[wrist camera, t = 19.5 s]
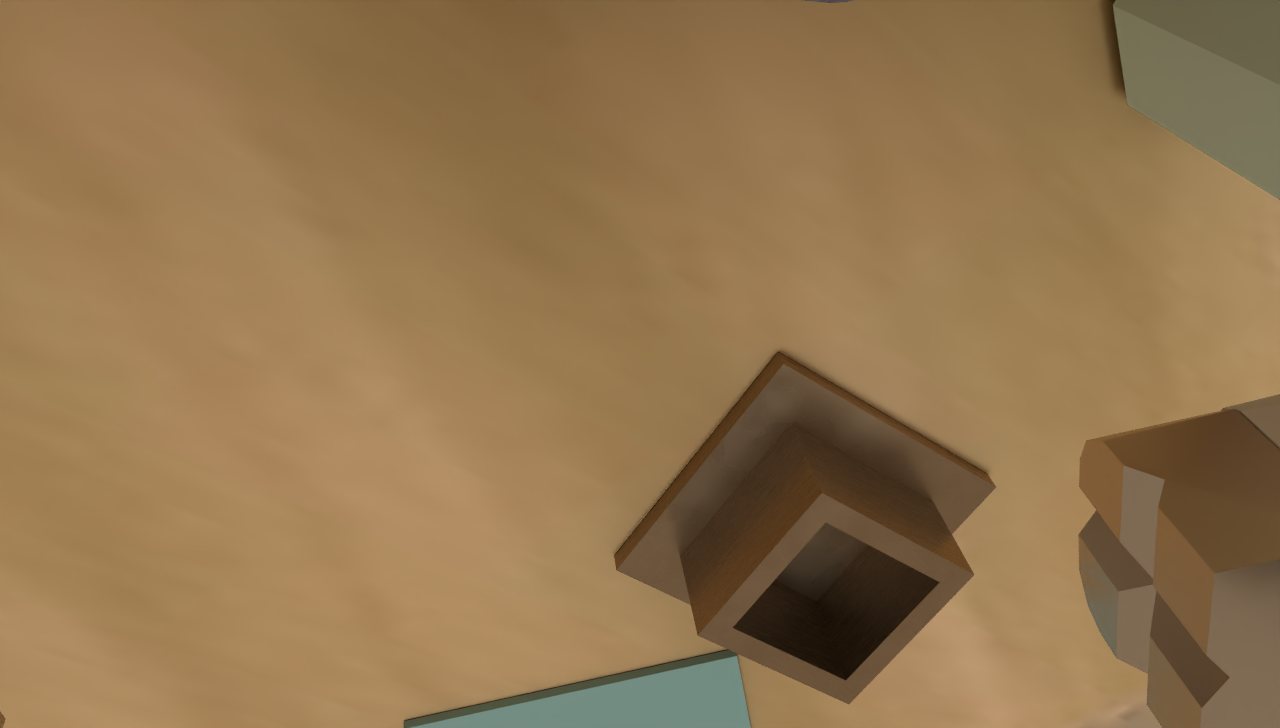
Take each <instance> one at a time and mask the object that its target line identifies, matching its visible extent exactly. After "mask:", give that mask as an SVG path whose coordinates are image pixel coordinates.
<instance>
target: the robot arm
mask: <svg viewBox="0 0 1280 728" xmlns="http://www.w3.org/2000/svg"><path fill="white" fill-rule="evenodd" d="M1079 487H1080V489H1081V490H1082V491H1083V493H1084V494H1085V495H1086V497H1087V498H1088V499H1089V501H1090V502H1091V503H1092V505H1093V506H1094V508H1095V509H1096V511H1095V513H1094V514H1093V516H1092V517H1091V518H1090V520H1089V521H1088V522H1087V524H1086V525H1085V527H1084V528H1083V529H1082V531H1081V532H1080V533H1079V535H1078V536H1079V571H1080V575H1081V579H1082V583H1083V587H1084V591H1085V595H1086V599H1087V603H1088V607H1089V609H1090V611H1091V613H1092V616H1093V618H1094V620H1095V622H1096V624H1097V627H1098V629H1099V631H1100V633H1101V635H1102V636H1103V638H1104V639H1105V641H1106V642H1107V644H1108V646H1109V647H1110V649H1111V650H1112V652H1113V653H1114V655H1115V657H1116V658H1117V659H1119V660H1121V661H1123V662H1125V663H1127V664H1129V665H1131V666H1133V667H1135V668H1137V669H1139V670H1141V671H1143V672H1145V673H1147V674H1148V687H1147V705H1148V707H1149V708H1150V710H1151V711H1152V713H1153V714H1154V716H1155V717H1156V719H1157V720H1158V722H1159V723H1160V725H1161V726H1162V728H1280V394H1279V395H1275V396H1271V397H1267V398H1263V399H1259V400H1254V401H1250V402H1246V403H1242V404H1238V405H1234V406H1230V407H1225V408H1223V409H1222V410H1221V411H1219V412H1213V413H1208V414H1204V415H1199V416H1195V417H1190V418H1186V419H1181V420H1177V421H1172V422H1168V423H1163V424H1159V425H1154V426H1150V427H1145V428H1140V429H1136V430H1131V431H1127V432H1122V433H1118V434H1113V435H1109V436H1104V437H1100V438H1095V439H1091V440H1086V443H1085V445H1084V448H1083V451H1082V454H1081V457H1080V475H1079ZM4 723H5V717H4V716H3V715H2V713H1V712H0V728H3V726H4Z"/></svg>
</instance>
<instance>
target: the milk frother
mask: <svg viewBox="0 0 1280 728" xmlns="http://www.w3.org/2000/svg"><path fill="white" fill-rule="evenodd" d="M806 1H817V2H827V3H836V2H848V1H851V0H806Z"/></svg>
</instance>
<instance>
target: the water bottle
mask: <svg viewBox="0 0 1280 728" xmlns="http://www.w3.org/2000/svg"><path fill="white" fill-rule="evenodd" d="M1113 10H1114V17H1115V24H1116V31H1117V38H1118V44H1119V51H1120V58H1121V65H1122V71H1123V78H1124V85H1125V92H1126V98H1127V105H1128V106H1130V107H1131V108H1133V109H1135V110H1136V111H1138V112H1139V113H1141V114H1143V115H1144V116H1146V117H1147V118H1149V119H1151V120H1152V121H1154V122H1156V123H1157V124H1159V125H1160V126H1162V127H1164V128H1165V129H1167V130H1168V131H1170V132H1172V133H1173V134H1175V135H1176V136H1178V137H1180V138H1181V139H1183V140H1184V141H1186V142H1188V143H1189V144H1191V145H1193V146H1194V147H1196V148H1197V149H1199V150H1201V151H1202V152H1204V153H1205V154H1207V155H1209V156H1210V157H1212V158H1213V159H1215V160H1217V161H1218V162H1220V163H1221V164H1223V165H1225V166H1226V167H1228V168H1230V169H1231V170H1233V171H1234V172H1236V173H1238V174H1239V175H1241V176H1242V177H1244V178H1246V179H1247V180H1249V181H1250V182H1252V183H1254V184H1255V185H1257V186H1258V187H1260V188H1262V189H1263V190H1265V191H1267V192H1268V193H1270V194H1271V195H1273V196H1275V197H1276V198H1278V199H1279V200H1280V0H1116V1H1115V3H1114V4H1113Z"/></svg>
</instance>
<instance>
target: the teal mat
mask: <svg viewBox="0 0 1280 728" xmlns="http://www.w3.org/2000/svg"><path fill="white" fill-rule="evenodd" d="M404 728H751V726H750V721H749V716H748V711H747V705H746V700H745V695H744V690H743V684H742V679H741V674H740V669H739V664H738V658H737V654H736V653H735V652H733V651H731V650H726V651H721V652H717V653H712V654H708V655H703V656H699V657H694V658H689V659H685V660H680V661H676V662H671V663H667V664H662V665H658V666H653V667H648V668H644V669H639V670H635V671H630V672H626V673H621V674H617V675H612V676H607V677H603V678H598V679H594V680H589V681H585V682H580V683H576V684H571V685H566V686H562V687H557V688H553V689H548V690H544V691H539V692H534V693H530V694H525V695H521V696H516V697H512V698H507V699H503V700H498V701H493V702H489V703H484V704H480V705H475V706H471V707H466V708H462V709H457V710H452V711H448V712H443V713H439V714H434V715H430V716H425V717H420V718H416V719H411V720H407V721H404Z"/></svg>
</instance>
